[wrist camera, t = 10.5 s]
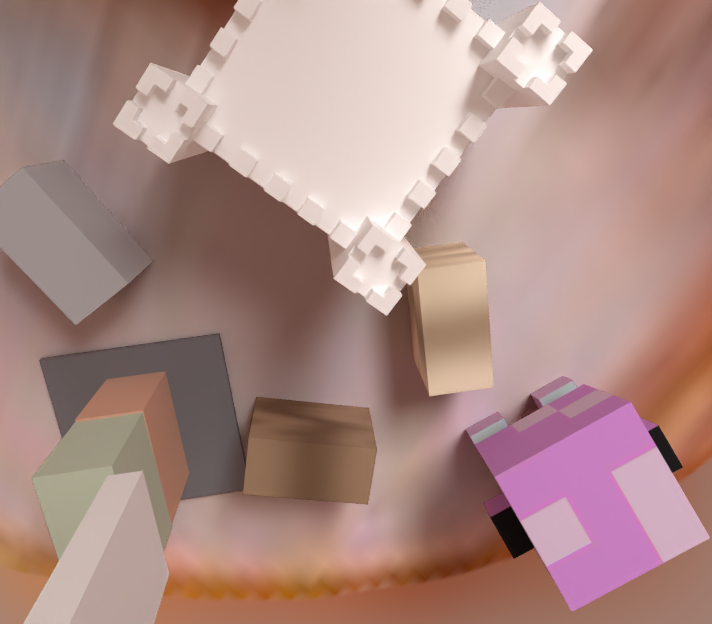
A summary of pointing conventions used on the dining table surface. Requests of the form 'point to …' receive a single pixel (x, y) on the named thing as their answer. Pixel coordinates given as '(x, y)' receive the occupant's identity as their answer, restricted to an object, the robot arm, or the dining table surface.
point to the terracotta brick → (147, 424)
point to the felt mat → (189, 395)
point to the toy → (586, 489)
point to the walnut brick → (310, 451)
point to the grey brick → (66, 239)
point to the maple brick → (451, 320)
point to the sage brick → (96, 473)
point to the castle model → (353, 111)
